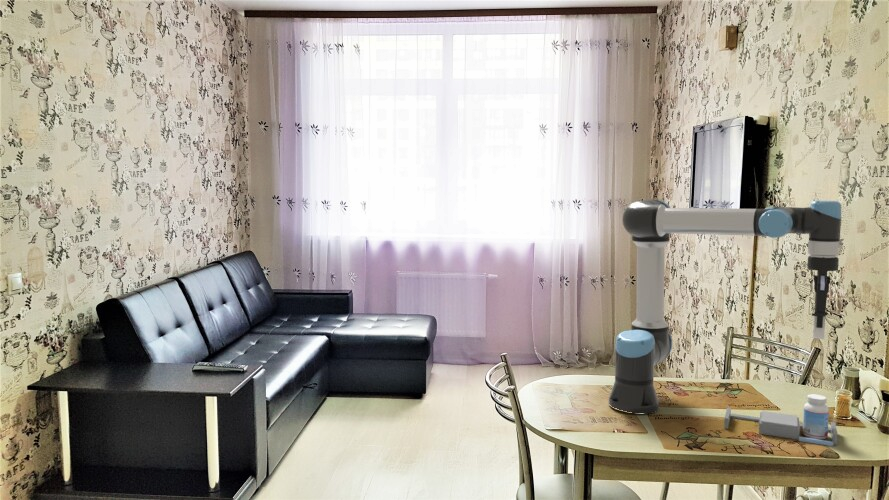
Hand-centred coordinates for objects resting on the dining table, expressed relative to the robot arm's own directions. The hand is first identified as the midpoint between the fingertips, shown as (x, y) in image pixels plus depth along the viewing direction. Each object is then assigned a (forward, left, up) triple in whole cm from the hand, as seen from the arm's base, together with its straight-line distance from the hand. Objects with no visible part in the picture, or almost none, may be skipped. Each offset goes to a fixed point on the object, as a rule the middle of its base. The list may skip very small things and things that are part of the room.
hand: (818, 338), depth 187 cm
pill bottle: (0, -8, -26) cm, 27 cm away
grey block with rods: (-9, -8, -26) cm, 29 cm away
